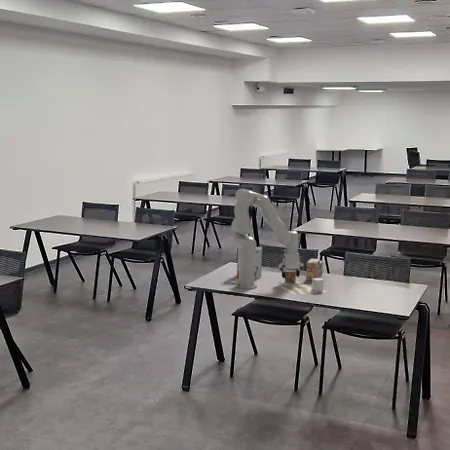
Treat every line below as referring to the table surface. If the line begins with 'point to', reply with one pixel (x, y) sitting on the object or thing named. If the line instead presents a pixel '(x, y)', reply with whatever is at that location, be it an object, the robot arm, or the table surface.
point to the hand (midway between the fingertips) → (290, 277)
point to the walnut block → (290, 277)
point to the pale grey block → (317, 284)
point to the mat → (289, 284)
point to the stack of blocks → (314, 269)
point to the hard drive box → (257, 262)
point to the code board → (300, 289)
